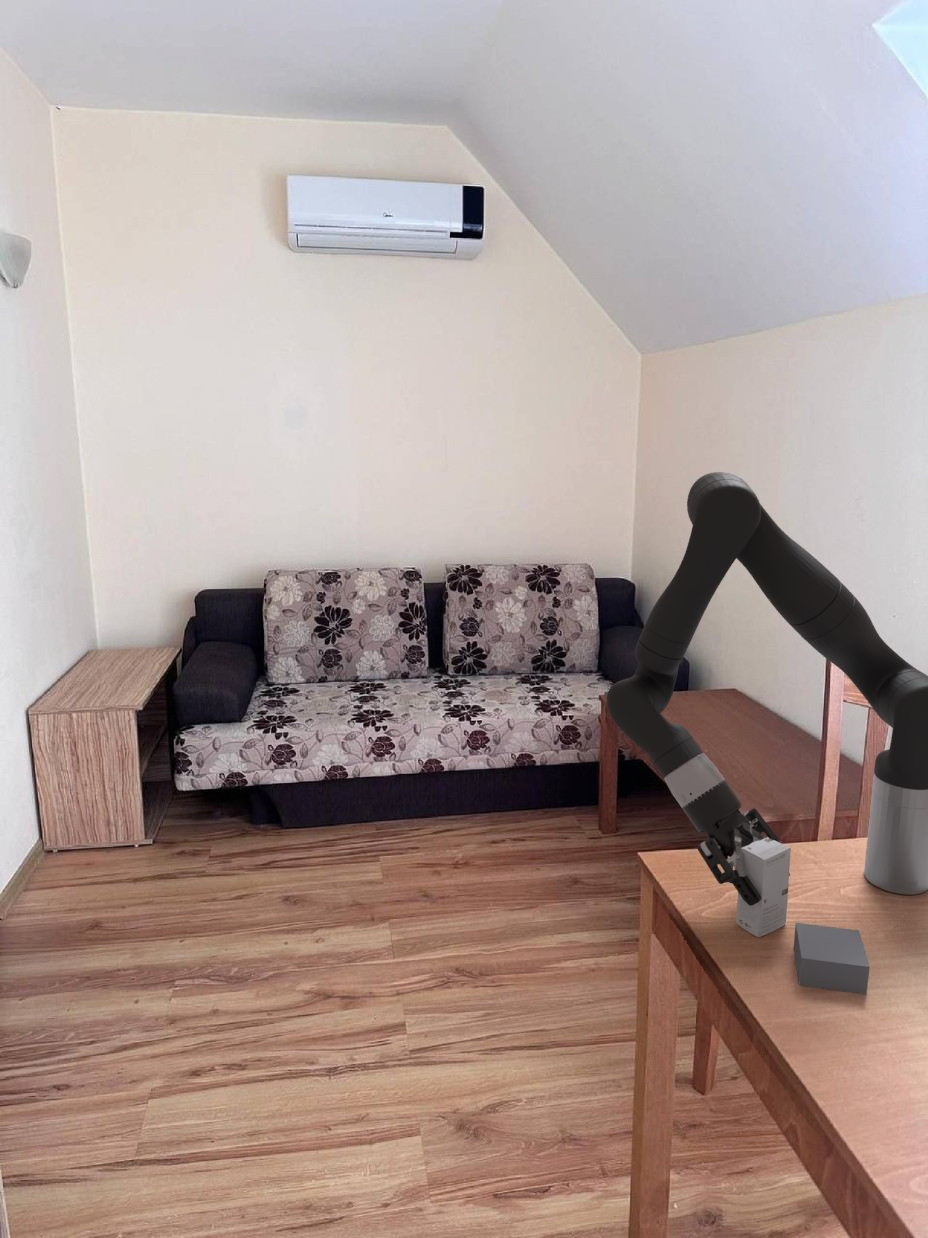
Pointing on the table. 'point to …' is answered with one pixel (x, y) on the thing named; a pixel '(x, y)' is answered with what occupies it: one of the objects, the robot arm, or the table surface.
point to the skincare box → (765, 886)
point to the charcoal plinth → (831, 958)
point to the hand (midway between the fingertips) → (770, 890)
